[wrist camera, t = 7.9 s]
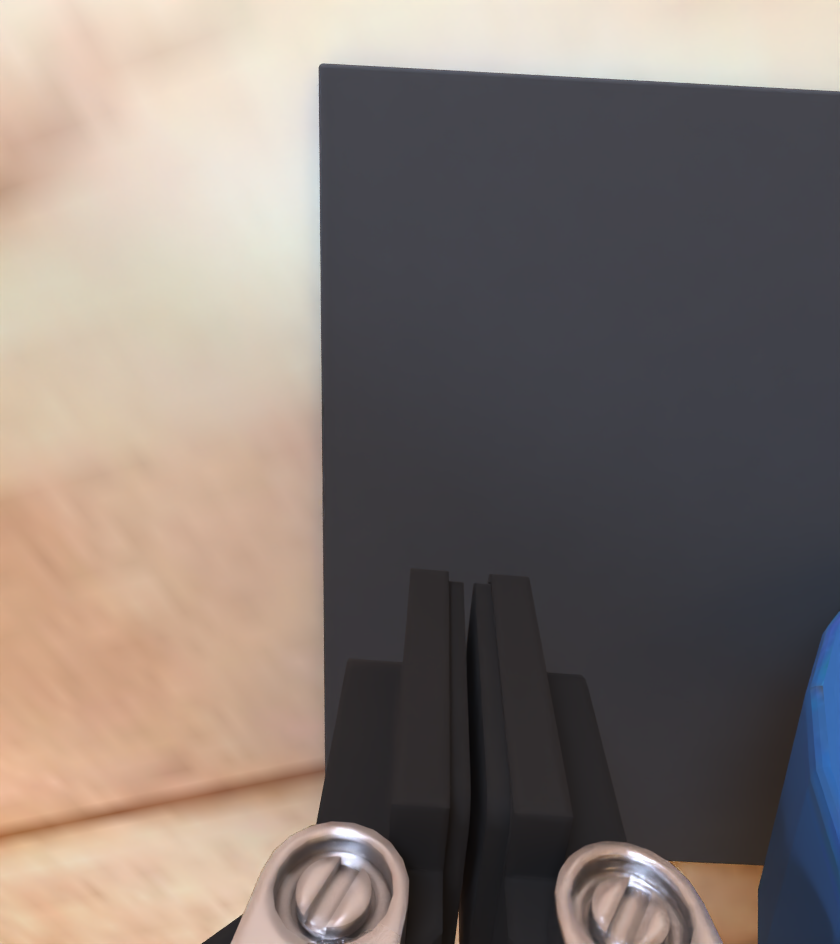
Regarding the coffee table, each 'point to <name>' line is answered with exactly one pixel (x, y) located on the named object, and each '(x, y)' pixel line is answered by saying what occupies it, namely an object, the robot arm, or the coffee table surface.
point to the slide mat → (593, 403)
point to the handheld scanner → (808, 818)
